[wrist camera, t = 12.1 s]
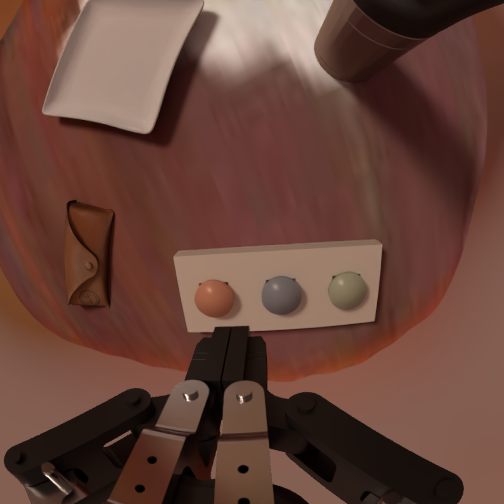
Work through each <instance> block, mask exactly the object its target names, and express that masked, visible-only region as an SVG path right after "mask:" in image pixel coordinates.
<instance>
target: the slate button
mask: <svg viewBox="0 0 504 504" xmlns="http://www.w3.org/2000/svg"><path fill="white" fill-rule="evenodd" d="M301 297H302V296H301V291H300V287H299V285H298V284H297V282H296V281H295V280H293V279H292V278H290V277H286V276H277V277H274V278H272V279H270V280H269V281H267V282H266V284H265V285H264V287H263V289H262V303H263V305H264V307H265V308H266V309H267V310H268V311H269V312H271V313H273V314H276V315H285V314H289V313H291V312H293V311H294V310H296V309H297V307H298V306H299V304H300V302H301Z"/></svg>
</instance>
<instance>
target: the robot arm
mask: <svg viewBox="0 0 504 504" xmlns="http://www.w3.org/2000/svg"><path fill="white" fill-rule="evenodd" d="M503 3H504V0H333V2H332V5H331V7H330V9H329V11H328V13H327V16H326V18H325V20H324V22H323V24H322V27H321V29H320V31H319V33H318V35H317V38H316V41H315V45H314V50H315V55H316V58H317V60H318V62H319V63H320V65H321V66H322V67H323V68H324V69H325V70H326V71H327V72H328V73H329V74H331V75H332V76H333V77H335V78H337V79H340V80H343V81H346V82H361V81H365V80H367V79H369V78H370V77H372V76H373V75H375V74H376V73H377V72H379V71H380V70H382V69H383V68H385V67H386V66H388V65H389V64H391V63H392V62H394V61H395V60H397V59H398V58H400V57H401V56H403V55H404V54H406V53H407V52H409V51H410V50H412V49H413V48H415V47H416V46H418V45H419V44H421V43H422V42H424V41H425V40H427V39H429V38H430V37H432V36H434V35H435V34H437V33H438V32H440V31H442V30H444V29H446V28H448V27H450V26H452V25H453V24H455V23H457V22H459V21H461V20H463V19H465V18H467V17H470V16H472V15H474V14H477V13H479V12H482V11H484V10H486V9H489V8H492V7H495V6H498V5H500V4H503ZM221 420H223V422H222V423H223V424H222V435H221V436H220V424H221ZM129 430H131V432H132V433H131V434H129V435H127V436H126V437H124V438H122V439H120V440H119V441H117V442H115V443H113V444H112V445H110V446H107V447H104V445H105V444H106V443H108V442H110V441H112V440H114V439H115V438H117V437H119V436H120V435H122V434H124V433H126V432H127V431H129ZM269 448H270V449H274V450H278V451H282V452H286V455H287V456H288V457H289V458H290V459H291V460H292V461H294V462H295V463H296V464H297V465H298V466H299V467H300V468H302V469H303V470H304V471H305V472H307V473H308V474H309V475H310V476H311V477H313V478H314V479H315V480H317V481H318V482H319V483H320V484H322V485H323V486H324V487H325V488H327V489H328V490H329V491H331V492H332V493H333V494H335V495H336V496H338V497H339V498H340V499H341V500H343V501H345V502H346V503H347V504H457V503H458V502H459V501H460V499H461V498H462V495H463V490H464V487H463V482H462V480H461V479H460V478H459V477H458V476H457V475H456V474H454V473H452V472H450V471H448V470H446V469H444V468H442V467H440V466H438V465H436V464H434V463H432V462H430V461H428V460H426V459H424V458H422V457H420V456H418V455H417V454H415V453H413V452H411V451H409V450H407V449H406V448H404V447H402V446H400V445H399V444H397V443H395V442H393V441H392V440H390V439H388V438H386V437H385V436H383V435H381V434H380V433H378V432H376V431H375V430H373V429H371V428H370V427H368V426H366V425H365V424H363V423H362V422H360V421H358V420H357V419H355V418H354V417H352V416H350V415H349V414H347V413H346V412H344V411H343V410H341V409H340V408H338V407H337V406H335V405H333V404H332V403H330V402H329V401H327V400H326V399H324V398H323V397H321V396H320V395H318V394H315V393H312V392H302V393H298V394H295V395H293V396H291V397H290V398H289V399H285V398H280V397H277V396H275V395H273V394H271V393H270V392H269V391H268V390H267V354H266V343H265V341H264V340H263V338H262V337H261V336H255V337H251V336H250V327H249V326H219V327H215V328H214V331H213V335H212V338H203V339H202V340H201V341H200V342H199V343H198V344H197V346H196V349H195V351H194V354H193V357H192V360H191V363H190V366H189V369H188V372H187V375H186V378H185V381H184V382H181V383H179V384H178V385H176V386H175V387H174V388H173V390H172V392H171V394H169V395H165V396H159V397H152V398H151V396H150V394H149V393H148V392H147V391H146V390H143V389H140V388H133V389H129V390H126V391H125V392H122V393H121V394H119V395H117V396H115V397H113V398H111V399H109V400H108V401H106V402H104V403H102V404H100V405H98V406H96V407H94V408H92V409H91V410H89V411H87V412H85V413H83V414H81V415H79V416H77V417H75V418H73V419H71V420H69V421H67V422H65V423H63V424H61V425H59V426H57V427H55V428H53V429H50V430H48V431H46V432H44V433H42V434H40V435H38V436H35V437H33V438H31V439H29V440H27V441H24V442H22V443H20V444H18V445H15V446H13V447H11V448H10V449H9V450H8V451H7V452H6V454H5V457H4V464H5V467H6V468H7V470H8V471H9V472H10V473H11V474H13V475H14V476H15V477H16V478H17V479H18V480H19V481H20V483H22V484H23V486H24V487H25V490H26V492H27V495H28V497H29V500H30V502H31V504H309V503H308V502H307V501H305V500H304V499H303V498H302V497H301V496H299V495H298V494H296V493H294V492H292V491H291V490H289V489H286V488H284V487H281V486H278V485H274V484H272V474H271V463H270V451H269ZM216 451H217V460H216V477H215V479H211V469H212V466H213V462H214V458H215V454H216Z"/></svg>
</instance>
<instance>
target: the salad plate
mask: <svg viewBox="0 0 504 504" xmlns="http://www.w3.org/2000/svg"><path fill="white" fill-rule="evenodd" d="M203 6H204V1H203V0H88V1H87V2H86V4H85V6H84V7H83V9H82V11H81V13H80V14H79V16H78V19H77V21H76V23H75V25H74V27H73V29H72V31H71V33H70V35H69V37H68V40H67V42H66V44H65V46H64V49H63V51H62V54H61V56H60V59H59V61H58V64H57V66H56V69H55V72H54V74H53V77H52V80H51V83H50V86H49V89H48V92H47V95H46V98H45V102H44V105H43V110H42V112H43V114H45V115H49V116H57V117H67V118H74V119H81V120H87V121H92V122H97V123H102V124H106V125H110V126H113V127H117V128H120V129H124V130H127V131H131V132H136V133H140V134H148V133H150V132H151V131H152V130H153V128H154V126H155V124H156V121H157V118H158V115H159V112H160V108H161V105H162V102H163V98H164V95H165V92H166V88H167V85H168V82H169V79H170V76H171V74H172V71H173V68H174V66H175V63H176V61H177V58H178V56H179V54H180V51H181V49H182V47H183V45H184V43H185V41H186V39H187V37H188V35H189V33H190V31H191V29H192V27H193V25H194V24H195V22H196V20H197V18H198V16H199V14H200V13H201V11H202V8H203Z"/></svg>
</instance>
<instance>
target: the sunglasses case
mask: <svg viewBox="0 0 504 504" xmlns="http://www.w3.org/2000/svg"><path fill="white" fill-rule="evenodd" d="M113 217H114V212H113V211H112V210H111V209H103V208H99V207H96V206H92V205H88V204H85V203H80V202H77V201H76V200H72V201H69V202H68V203H67V204H66V220H65V236H64V259H65V280H66V290H67V299H68V305H69V304H72V305H87V306H104V307H107V308H110V302H109V295H108V255H109V241H110V232H111V225H112V222H113Z"/></svg>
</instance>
